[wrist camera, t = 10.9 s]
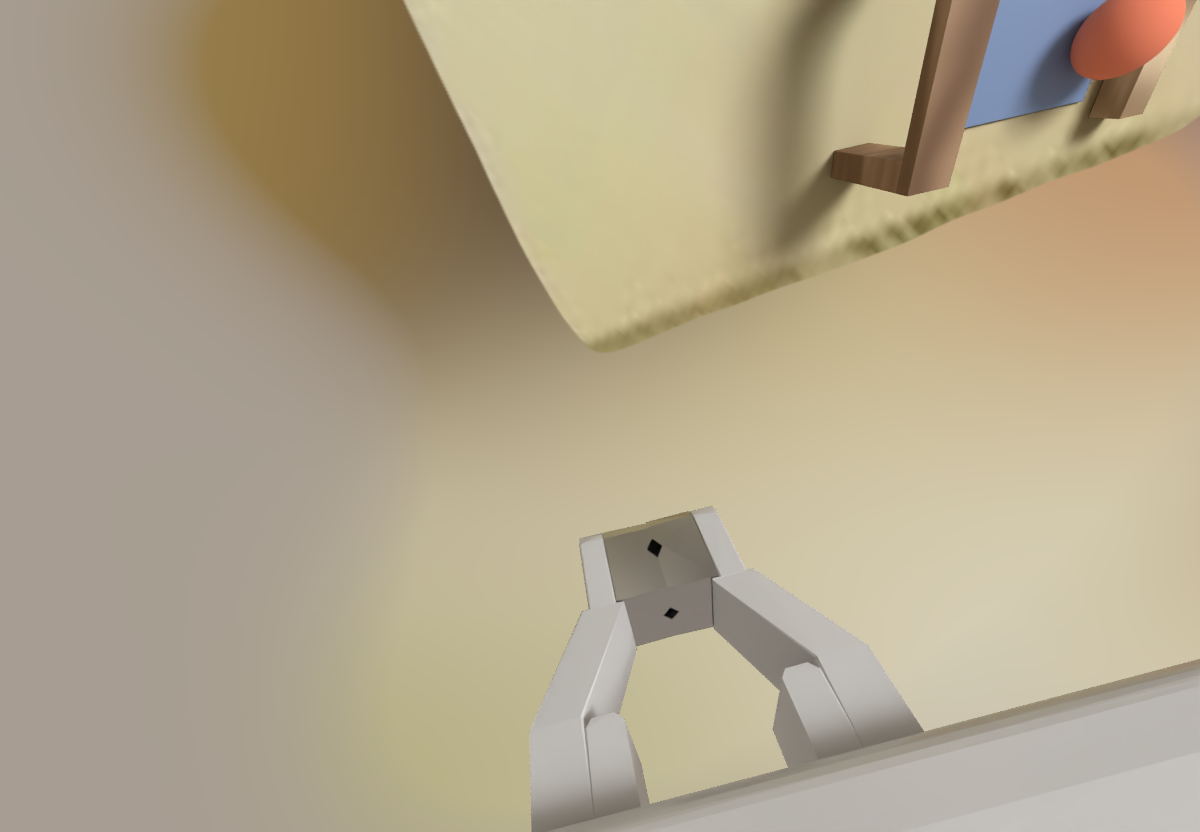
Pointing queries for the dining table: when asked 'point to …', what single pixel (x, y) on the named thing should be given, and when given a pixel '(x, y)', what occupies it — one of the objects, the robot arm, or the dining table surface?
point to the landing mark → (1030, 59)
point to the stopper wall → (1134, 84)
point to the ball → (1124, 36)
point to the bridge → (930, 107)
